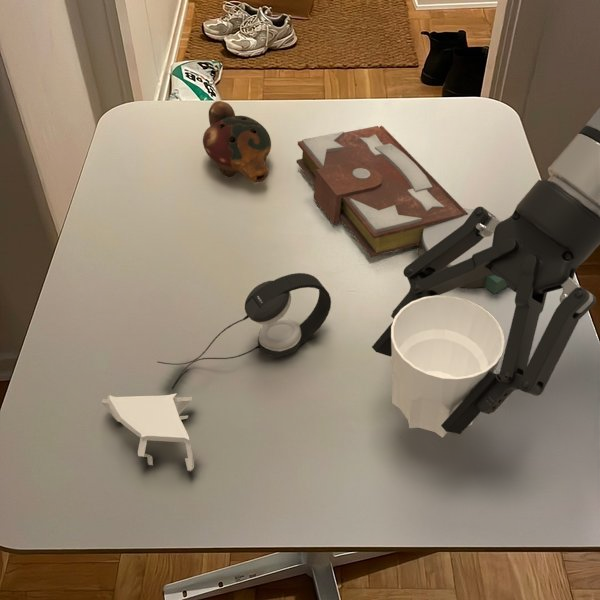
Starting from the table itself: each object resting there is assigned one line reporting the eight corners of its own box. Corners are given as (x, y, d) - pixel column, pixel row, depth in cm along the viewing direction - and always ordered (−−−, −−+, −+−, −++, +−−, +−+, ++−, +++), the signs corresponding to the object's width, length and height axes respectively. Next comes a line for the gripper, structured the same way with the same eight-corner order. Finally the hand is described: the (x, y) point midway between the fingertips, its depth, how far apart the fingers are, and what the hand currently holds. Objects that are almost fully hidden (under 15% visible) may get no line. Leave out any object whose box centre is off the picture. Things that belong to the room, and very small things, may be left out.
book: (464, 237, 99) (472, 207, 96) (363, 263, 94) (368, 233, 90) (381, 148, 114) (385, 119, 110) (289, 167, 109) (291, 137, 105)
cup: (398, 352, 78) (406, 285, 71) (494, 376, 75) (512, 309, 68) (372, 427, 71) (378, 361, 64) (476, 456, 69) (493, 391, 62)
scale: (539, 267, 94) (545, 248, 91) (471, 307, 89) (475, 289, 87) (466, 213, 101) (469, 196, 99) (399, 249, 96) (401, 231, 94)
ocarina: (239, 132, 116) (239, 87, 110) (292, 185, 108) (295, 139, 102) (184, 150, 112) (181, 104, 106) (235, 206, 104) (235, 160, 98)
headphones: (173, 390, 84) (322, 305, 88) (188, 418, 82) (341, 329, 85) (144, 341, 77) (308, 251, 80) (159, 370, 74) (329, 275, 78)
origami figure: (221, 416, 79) (216, 388, 75) (193, 483, 73) (186, 457, 70) (118, 393, 81) (109, 365, 77) (83, 457, 75) (71, 430, 72)
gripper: (697, 290, 59) (513, 482, 65) (506, 153, 73) (368, 322, 79) (675, 265, 54) (475, 478, 60) (472, 122, 68) (326, 306, 73)
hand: (414, 389), depth 69 cm, fingers closed on cup, 10 cm apart
